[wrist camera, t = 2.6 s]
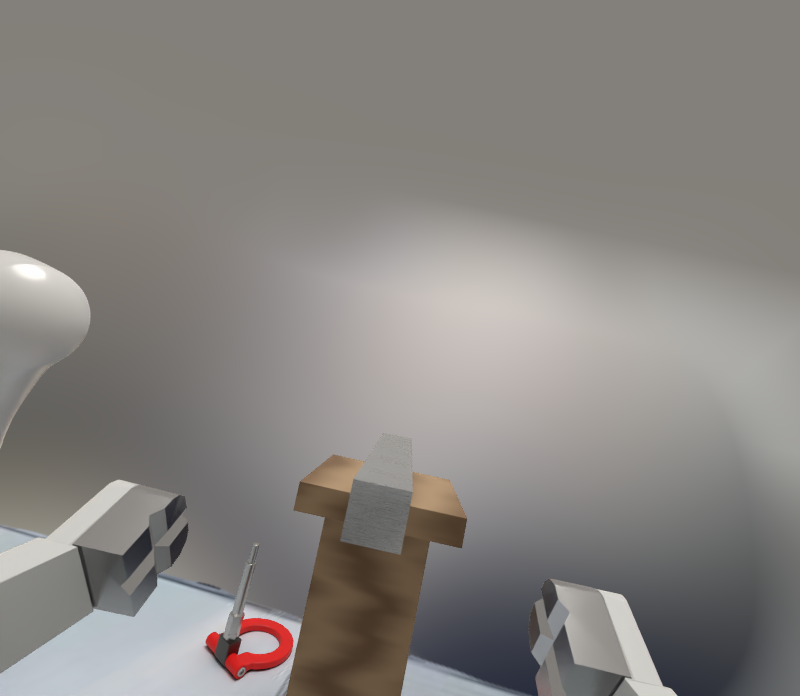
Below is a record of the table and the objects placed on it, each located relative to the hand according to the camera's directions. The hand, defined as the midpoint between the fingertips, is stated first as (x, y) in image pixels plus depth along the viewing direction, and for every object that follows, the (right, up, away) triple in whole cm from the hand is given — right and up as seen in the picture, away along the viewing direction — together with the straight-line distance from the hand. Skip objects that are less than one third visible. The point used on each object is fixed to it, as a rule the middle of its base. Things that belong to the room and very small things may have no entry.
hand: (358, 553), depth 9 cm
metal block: (0, -6, +21) cm, 22 cm away
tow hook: (-17, -32, +38) cm, 53 cm away
